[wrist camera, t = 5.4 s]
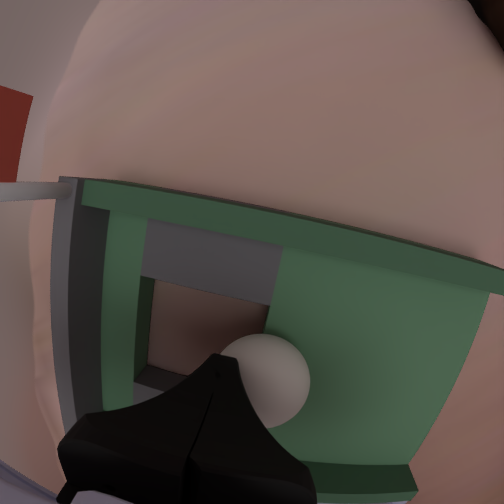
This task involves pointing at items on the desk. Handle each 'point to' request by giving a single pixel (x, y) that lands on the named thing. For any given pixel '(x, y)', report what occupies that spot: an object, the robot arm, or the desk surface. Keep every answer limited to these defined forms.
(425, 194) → the desk surface
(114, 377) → the putting green
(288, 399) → the golf ball
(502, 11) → the owl
